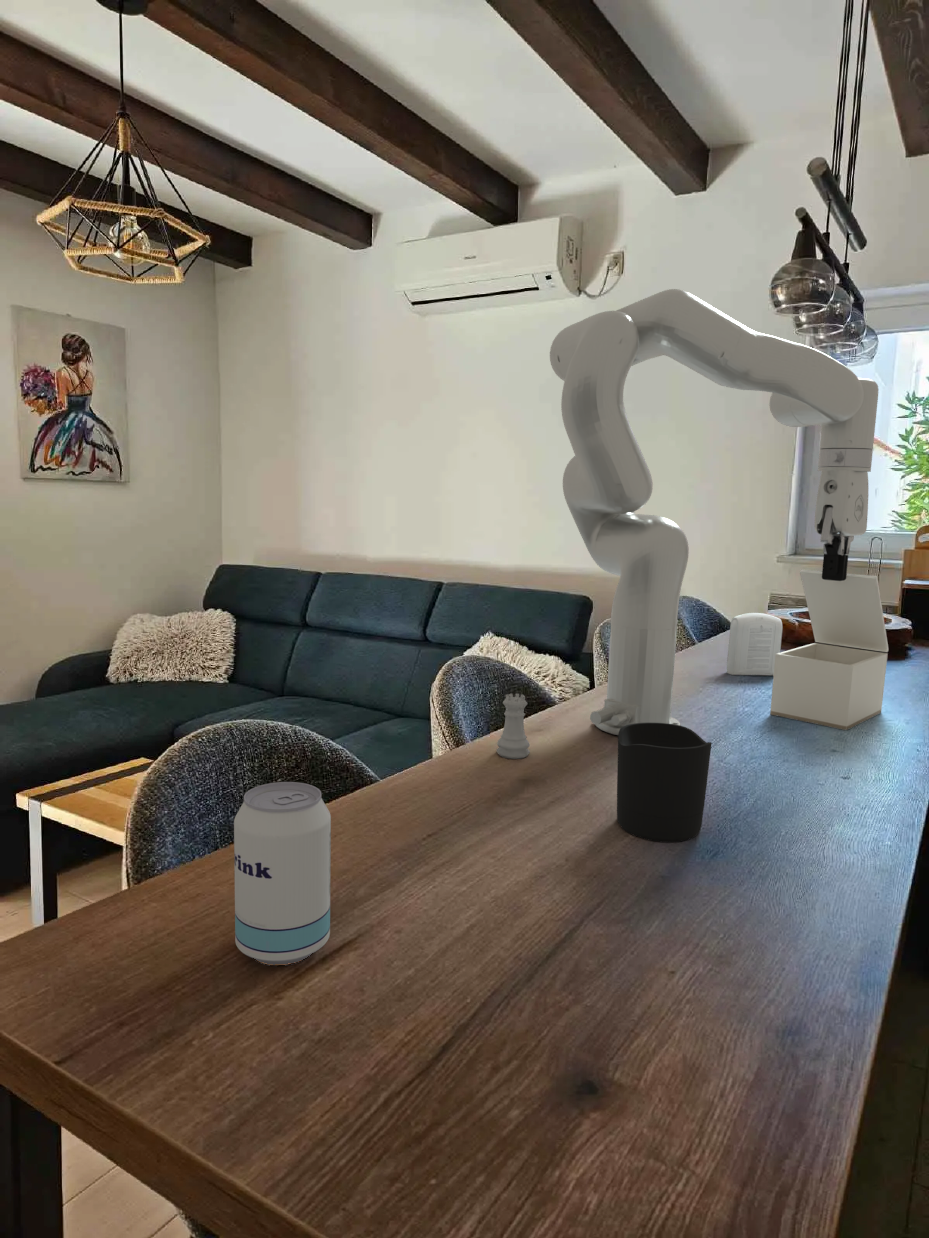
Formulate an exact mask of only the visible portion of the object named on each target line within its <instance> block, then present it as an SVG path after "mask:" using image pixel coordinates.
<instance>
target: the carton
mask: <svg viewBox="0 0 929 1238" xmlns="http://www.w3.org/2000/svg"><path fill="white" fill-rule="evenodd" d="M888 654H889V653H887V652H880V651H873V650H867V649H860V648H853V647H846V646H839V645H832V644H825V643H818V642H814V643H810V644H805V645H803V646H798V647H796V648H791V649H788V650H786V651H785V650H784V651H780V653H777V654H775V665H774V676H773V678H772V679H773V680H772V689H771V701H770V715H771V716H777V717H781V718H786V719H791V720H795V721H800V722H805V723H810V724H814V725H820V726H825V727H828V728H834V729H838V730H843V731H848V730H850V729H852V728H854V727H857V726H858V725H859V724H862V723H864V722H866V721H868V720H869V719H871V718H874V717H875V716H877V715H880V714H882V709H883V700H884V692H885V691H884V690H885V680H886V673H887V663H888Z"/></svg>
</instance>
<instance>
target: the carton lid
mask: <svg viewBox="0 0 929 1238" xmlns="http://www.w3.org/2000/svg"><path fill="white" fill-rule="evenodd" d="M799 575H800V580H801V583H802V584H801V585H802V589H803V593H804V597H805V601H806V607H807V611H808V615H809V620H810V624H811V625H810V626H811V628H812V633H813V637H814V643H818V644H825V645H832V646H839V647H846V648H853V649H860V650H867V651H874V652H881V653H888V652H889V644H888V637H887V630H886V625H885V618H884V617H885V616H884V610H883V605H882V598H881V593H880V591H881V590H880V586H879V580H878V575H869V574H855V573H848V572H847V575H846V580H844V581H834V580H824V579H822V571H821V570H820V571H819V570H812V569H800V571H799Z"/></svg>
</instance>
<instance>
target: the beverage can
mask: <svg viewBox="0 0 929 1238" xmlns="http://www.w3.org/2000/svg"><path fill="white" fill-rule="evenodd" d="M331 817H332V816H331V812H330V811H329V809H328V807H327V805H326V804H325V802H324V799H323V798H322V791H321V790H320V788H318V787H316V786H314V785H313V784H308V783H304V782H295V781H281V782H270V783H265V784H261V785H258V786H255V787H252V788H251V789H249V790H248V791H246V792H245V794H244V795H243V802H242V804H241V806H240V807H239V809H238V811H237V813H236V815H235V816H234V821H233V845H234V847H233V850H234V851H233V852H234V853H233V854H234V855H233V857H234V860H233V862H234V925H235V926H234V933H235V934H234V936H235V937H234V940H235V945H236V947H237V949H238V950H239V952H241V953H242V954H244V955H245V956H247V957H249V958H251V959H253V958H254V959H256V960H258V961H260V962H264V963H267V964H273V965H275V964H288V963H294V962H298V961H300V960H303V959H305V958H307V957H308V956H309V957H311V956H312V955H313V954H314V953H315V952H317V951H319V950H320V949H321V948H322V947H324V946H325V944H327V942H328V941H329V939H330V937H331V936H330V935H331V855H332V853H331V849H332V848H331V847H332V845H331V842H332V841H331V838H332V836H331V835H332V834H331V830H332V829H331V827H332V826H331V825H332V824H331V823H332V820H331V819H332V818H331ZM312 953H313V954H312ZM311 954H312V955H311ZM310 955H311V956H310ZM309 957H308V958H309ZM308 958H307V959H308ZM254 959H253V960H254ZM256 960H255V961H256ZM305 960H306V959H305ZM303 961H304V960H303ZM298 963H299V962H298Z"/></svg>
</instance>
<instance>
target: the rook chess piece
mask: <svg viewBox="0 0 929 1238" xmlns="http://www.w3.org/2000/svg"><path fill="white" fill-rule="evenodd" d="M513 694H514V693H508V694H505V699H504V700H503V701H502V704H503V705H504V707H505V712H504V713H503V714H504V716H505V720H504V725H503V730H502V733H501V735H500V738H499V739H498V740H497V749H496V750H495V751H496V753H497V754H498V755H499V757H501V758H504V759H510V760H521V759H525V758H527V757H528V755H529V754H530V753H531V751H530V749H528V748H529V747H530V741H529V740H528V739H527V736H526V734H525V733H526V732H525V726H524V725H525V723H524V720H525V719H524V717H525V716H526V713H525V707H526V706H527V705H528V702H527V701H526V695H524V694H520V693H515V696H514V695H513Z"/></svg>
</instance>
